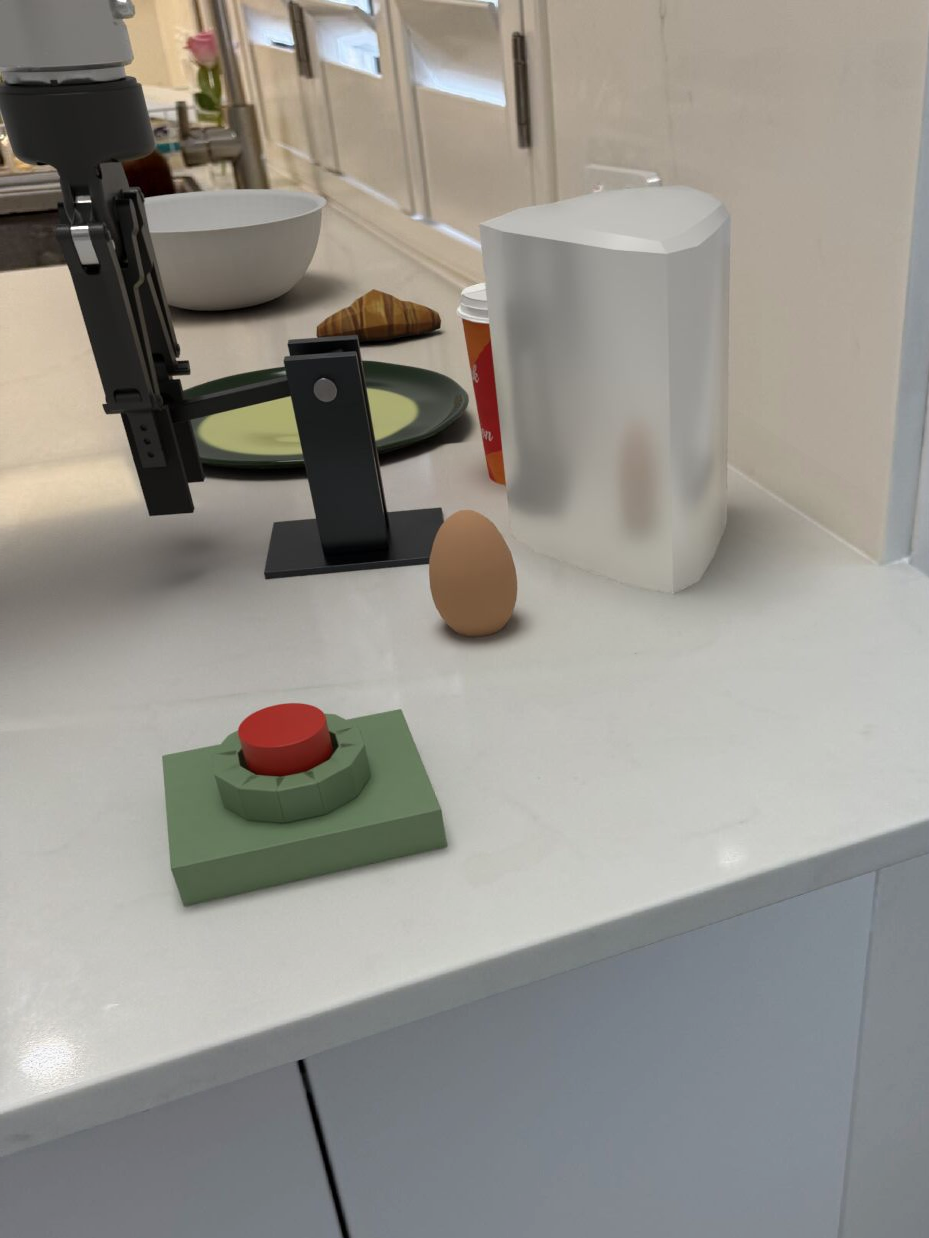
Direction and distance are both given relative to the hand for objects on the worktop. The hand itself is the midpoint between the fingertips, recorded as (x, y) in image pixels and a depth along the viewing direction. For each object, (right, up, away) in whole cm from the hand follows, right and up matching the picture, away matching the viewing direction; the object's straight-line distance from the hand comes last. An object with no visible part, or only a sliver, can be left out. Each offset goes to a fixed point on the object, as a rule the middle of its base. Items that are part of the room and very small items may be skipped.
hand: (177, 495), depth 80 cm
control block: (+15, -22, -21) cm, 34 cm away
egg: (+21, -11, -5) cm, 24 cm away
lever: (+6, +5, -2) cm, 8 cm away
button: (+14, -20, -23) cm, 33 cm away
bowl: (-20, +44, +66) cm, 82 cm away
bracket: (+11, -3, +5) cm, 12 cm away
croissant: (+2, +33, +51) cm, 61 cm away
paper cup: (+21, +6, +15) cm, 27 cm away
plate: (+1, +14, +26) cm, 30 cm away
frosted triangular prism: (+31, -2, +5) cm, 32 cm away
